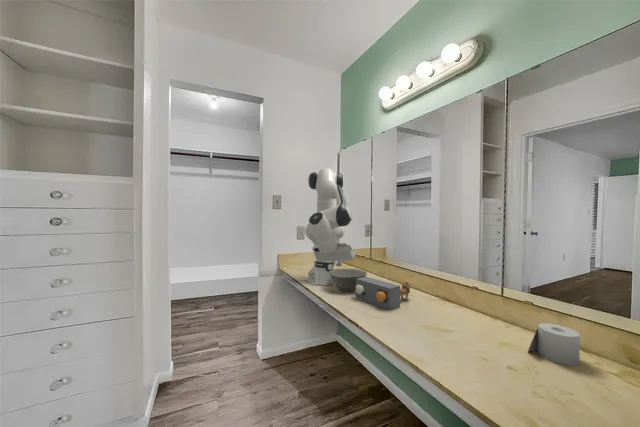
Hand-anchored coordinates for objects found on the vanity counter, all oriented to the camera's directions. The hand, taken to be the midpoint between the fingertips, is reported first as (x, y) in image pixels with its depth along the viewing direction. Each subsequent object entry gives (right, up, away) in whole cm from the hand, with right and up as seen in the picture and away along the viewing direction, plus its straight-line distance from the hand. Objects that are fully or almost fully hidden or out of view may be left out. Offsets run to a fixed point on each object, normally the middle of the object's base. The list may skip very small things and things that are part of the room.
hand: (340, 265), depth 123 cm
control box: (+19, -19, +3) cm, 27 cm away
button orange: (+20, -16, -5) cm, 26 cm away
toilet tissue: (+63, -19, -45) cm, 80 cm away
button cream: (+12, -16, +7) cm, 21 cm away
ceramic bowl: (+7, -20, +25) cm, 33 cm away
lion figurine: (+32, -20, +6) cm, 38 cm away
